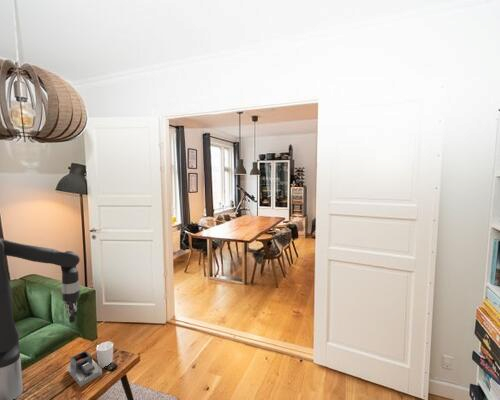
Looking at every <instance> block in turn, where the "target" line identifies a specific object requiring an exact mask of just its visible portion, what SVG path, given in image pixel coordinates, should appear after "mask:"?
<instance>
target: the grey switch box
mask: <svg viewBox="0 0 500 400" xmlns="http://www.w3.org/2000/svg"><path fill="white" fill-rule="evenodd" d="M81 358H85V359H83V360H81V361H79V362H77V361H78V360H79V359H81ZM69 361H70V364H69V365H67V372H68V374H70V376H71V377H72V378H73V380H74V381H75V382H76V384H77V385H78V386H79V387H80V388H81V387H83V386H85V385H86V384H88V383H90V382H92V381H93V380H95V379H98V377H101V376H102V375H103V369H102V368H101V367H100V366H99V365H98V362H96V361H94V359H93V355H91V353H89V352H88V351H87V349H85V350H84V351H81V352H78V353H77V354H75V355H72V356H70V357H69ZM88 362H89V363H91V364H92V365H93V366H95V370H93V371H91V372H89V373H86V372H85V371H83V370H82V369H81V366H82V365H84V364H86V363H88Z"/></svg>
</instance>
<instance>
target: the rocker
mask: <svg viewBox="0 0 500 400" xmlns="http://www.w3.org/2000/svg"><path fill="white" fill-rule="evenodd" d="M81 369H82V370H83V371H85V372H86V373H89V372H91V371H93V370H95V366H93V365H92V364H91V363H89V362H88V363H86V364H84V365H82V366H81Z"/></svg>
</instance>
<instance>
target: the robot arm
mask: <svg viewBox="0 0 500 400" xmlns="http://www.w3.org/2000/svg"><path fill="white" fill-rule="evenodd" d="M5 256H6V257H13V258H18V259H22V260H26V261H30V262H35V263H41V264H48V265H49V264H50V265H56V266H60V269H61V281H62V284H61V295H62V297H61V298H62V299H61V300H62V301H63V302H64V305H65V310H66V313H67V316H68V322H69V323H70V324H72V323H75V322H76V318H75V317H76V316H77V315H78V312H79V309H80V308H79V307H78V306H77V305H78V302H77V300H78V299H80V296H81V293H80V280H79V279H80V278H79V277H80V275H79V270H78V268H77V265H79V263H80V260H81V259H80V256H79V255H78V254H77V253H76V252H74V251H71V250H66V251H59V250H57V249H55V248H48V247H43V246H38V245H31V244H29V245H28V244H25V243H24V244H23V243H19V242H13V241H10V240H7V239H3V238H1V237H0V400H13V399H15V400H16V399H18V398H19V397H20V396H21V395H22V393H23V391H24V389H23V387H24V386H23V377H22V375H23V374H22V363H21V361H22V360H21V350H20V341H19V339H20V338H19V337H20V335H19V334H20V333H19V331H18V327H17V326H16V325H15V320H14V314H13V313H14V312H13V311H14V310H13V309H14V301H13V293H12V287H11V283H10V279H9V275H8V272H7V269H6V267H5V266H6V265H5Z"/></svg>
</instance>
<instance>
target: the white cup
mask: <svg viewBox="0 0 500 400" xmlns="http://www.w3.org/2000/svg"><path fill="white" fill-rule="evenodd" d="M96 358H97V364H98V365H99V366H100V367H101V368H103V369H104V367H105V366H107V365H108V364H110V363H111V362H112V363H113V360H114V359H113V358H114V342H112V341H109V340H108V341H104V342H102V343H99V344H98V345H97V346H96ZM105 368H106V367H105Z"/></svg>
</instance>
